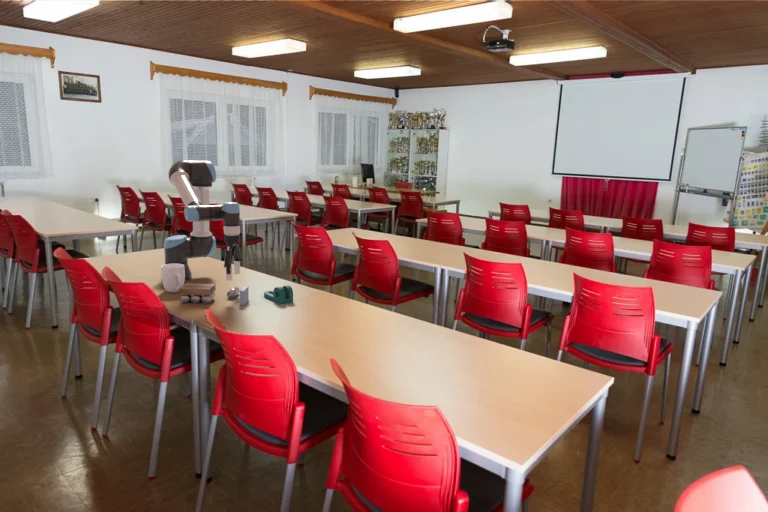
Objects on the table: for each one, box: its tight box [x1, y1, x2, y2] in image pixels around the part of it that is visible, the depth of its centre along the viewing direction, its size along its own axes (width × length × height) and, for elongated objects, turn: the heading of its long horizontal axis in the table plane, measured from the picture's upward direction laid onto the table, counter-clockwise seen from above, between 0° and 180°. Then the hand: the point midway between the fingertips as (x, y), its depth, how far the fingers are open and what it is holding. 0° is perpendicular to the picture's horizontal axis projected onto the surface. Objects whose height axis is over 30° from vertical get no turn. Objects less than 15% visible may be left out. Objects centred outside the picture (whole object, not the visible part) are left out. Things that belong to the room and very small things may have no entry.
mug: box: [160, 263, 186, 293], centre depth 256 cm, size 15×11×13 cm
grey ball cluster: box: [179, 291, 216, 305], centre depth 243 cm, size 8×14×4 cm, turn 90°
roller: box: [226, 286, 241, 300], centre depth 253 cm, size 8×4×4 cm, turn 0°
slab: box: [178, 283, 216, 296], centre depth 242 cm, size 9×14×3 cm, turn 90°
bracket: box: [263, 284, 294, 305], centre depth 251 cm, size 18×7×8 cm, turn 44°
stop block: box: [239, 285, 249, 306], centre depth 243 cm, size 8×2×7 cm, turn 0°
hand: (233, 277), depth 251 cm, fingers open, 13 cm apart
